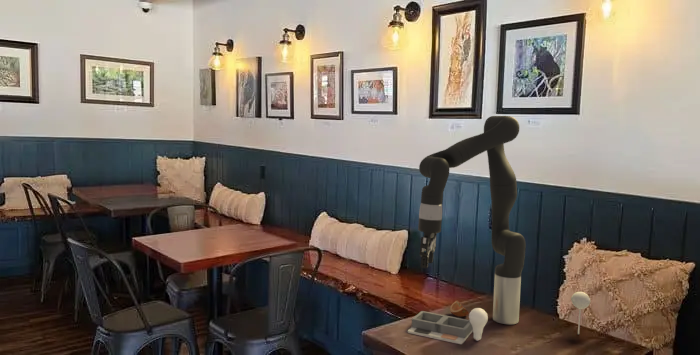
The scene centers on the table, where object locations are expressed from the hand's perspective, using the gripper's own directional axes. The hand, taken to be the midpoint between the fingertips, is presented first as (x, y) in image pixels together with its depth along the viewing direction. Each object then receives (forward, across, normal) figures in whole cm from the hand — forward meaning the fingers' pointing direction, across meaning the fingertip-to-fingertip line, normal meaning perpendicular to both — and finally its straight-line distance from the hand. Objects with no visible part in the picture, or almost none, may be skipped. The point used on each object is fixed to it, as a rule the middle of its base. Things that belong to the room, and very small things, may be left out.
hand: (426, 265), depth 181 cm
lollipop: (+22, +24, -50) cm, 60 cm away
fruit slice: (+24, +25, -9) cm, 36 cm away
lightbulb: (+24, +5, -18) cm, 30 cm away
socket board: (+24, +7, -5) cm, 26 cm away
